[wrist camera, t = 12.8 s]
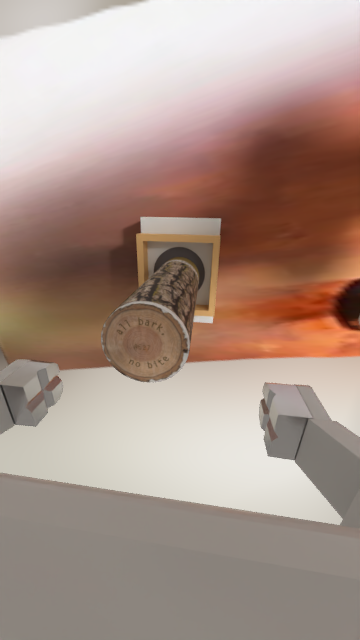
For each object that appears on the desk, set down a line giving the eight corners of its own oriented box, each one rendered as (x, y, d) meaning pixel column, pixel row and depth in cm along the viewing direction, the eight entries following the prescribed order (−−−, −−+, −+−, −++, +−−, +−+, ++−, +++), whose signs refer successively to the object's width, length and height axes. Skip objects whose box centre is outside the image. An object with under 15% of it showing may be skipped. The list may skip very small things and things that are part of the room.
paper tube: (161, 254, 39) (96, 299, 16) (201, 257, 39) (192, 307, 16) (160, 293, 42) (104, 377, 19) (197, 296, 41) (186, 387, 18)
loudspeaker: (219, 219, 41) (222, 217, 34) (212, 313, 48) (212, 329, 40) (147, 217, 42) (135, 216, 35) (150, 310, 49) (140, 325, 42)
